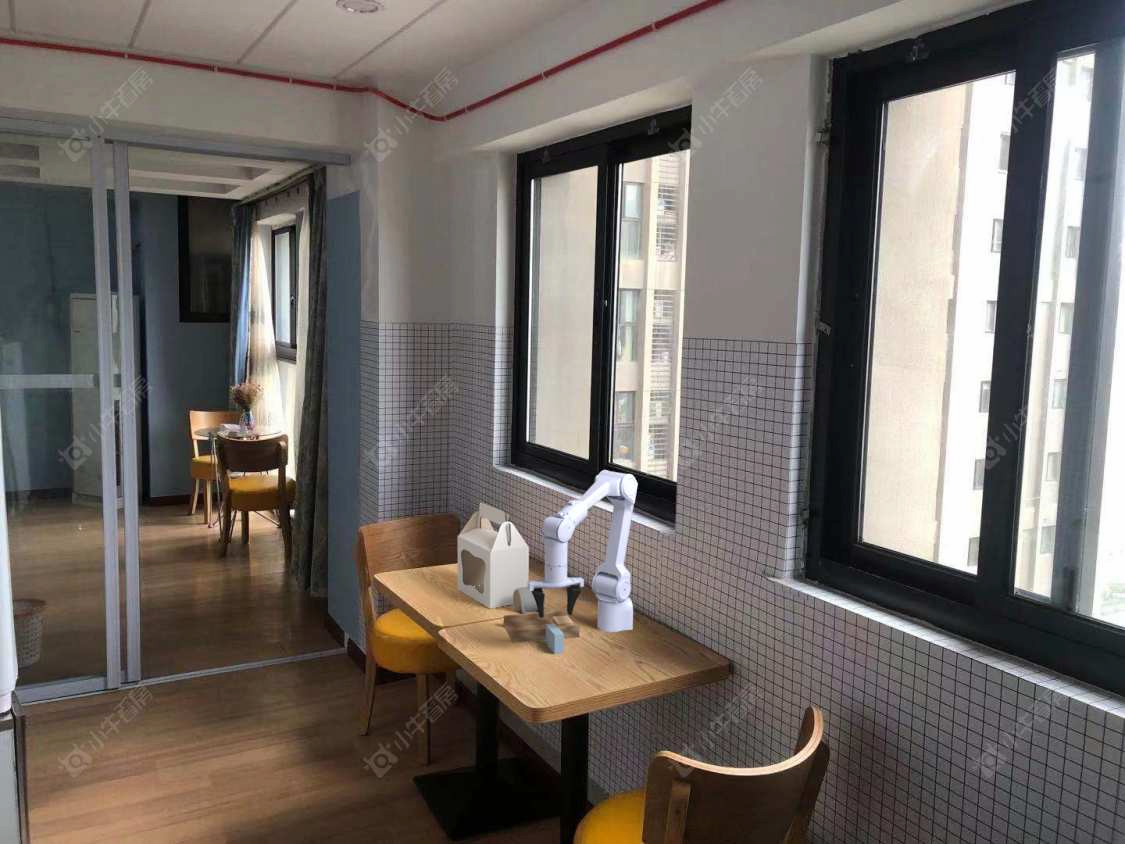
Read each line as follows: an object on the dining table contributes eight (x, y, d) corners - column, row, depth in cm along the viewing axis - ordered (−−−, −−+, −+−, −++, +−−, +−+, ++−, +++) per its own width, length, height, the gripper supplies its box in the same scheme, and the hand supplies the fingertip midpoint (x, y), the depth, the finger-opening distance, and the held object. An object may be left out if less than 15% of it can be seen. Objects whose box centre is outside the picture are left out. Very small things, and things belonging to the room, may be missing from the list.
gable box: (529, 602, 275) (530, 511, 271) (490, 609, 268) (490, 516, 264) (494, 583, 293) (494, 498, 290) (456, 589, 286) (456, 502, 283)
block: (554, 645, 240) (554, 623, 239) (563, 656, 232) (563, 634, 232) (545, 646, 239) (545, 624, 238) (554, 657, 232) (554, 634, 231)
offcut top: (567, 620, 252) (567, 615, 252) (573, 628, 246) (573, 622, 246) (552, 621, 251) (552, 616, 251) (557, 629, 245) (557, 623, 245)
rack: (566, 623, 256) (566, 610, 256) (579, 640, 244) (579, 626, 244) (503, 628, 252) (503, 615, 251) (513, 645, 239) (513, 631, 239)
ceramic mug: (511, 608, 269) (512, 583, 268) (538, 606, 271) (538, 581, 270) (521, 621, 259) (522, 595, 258) (549, 618, 261) (549, 592, 260)
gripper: (578, 557, 239) (577, 607, 240) (524, 561, 234) (524, 612, 236) (586, 565, 232) (586, 616, 234) (531, 569, 228) (531, 621, 229)
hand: (555, 615), depth 234 cm, fingers open, 7 cm apart
